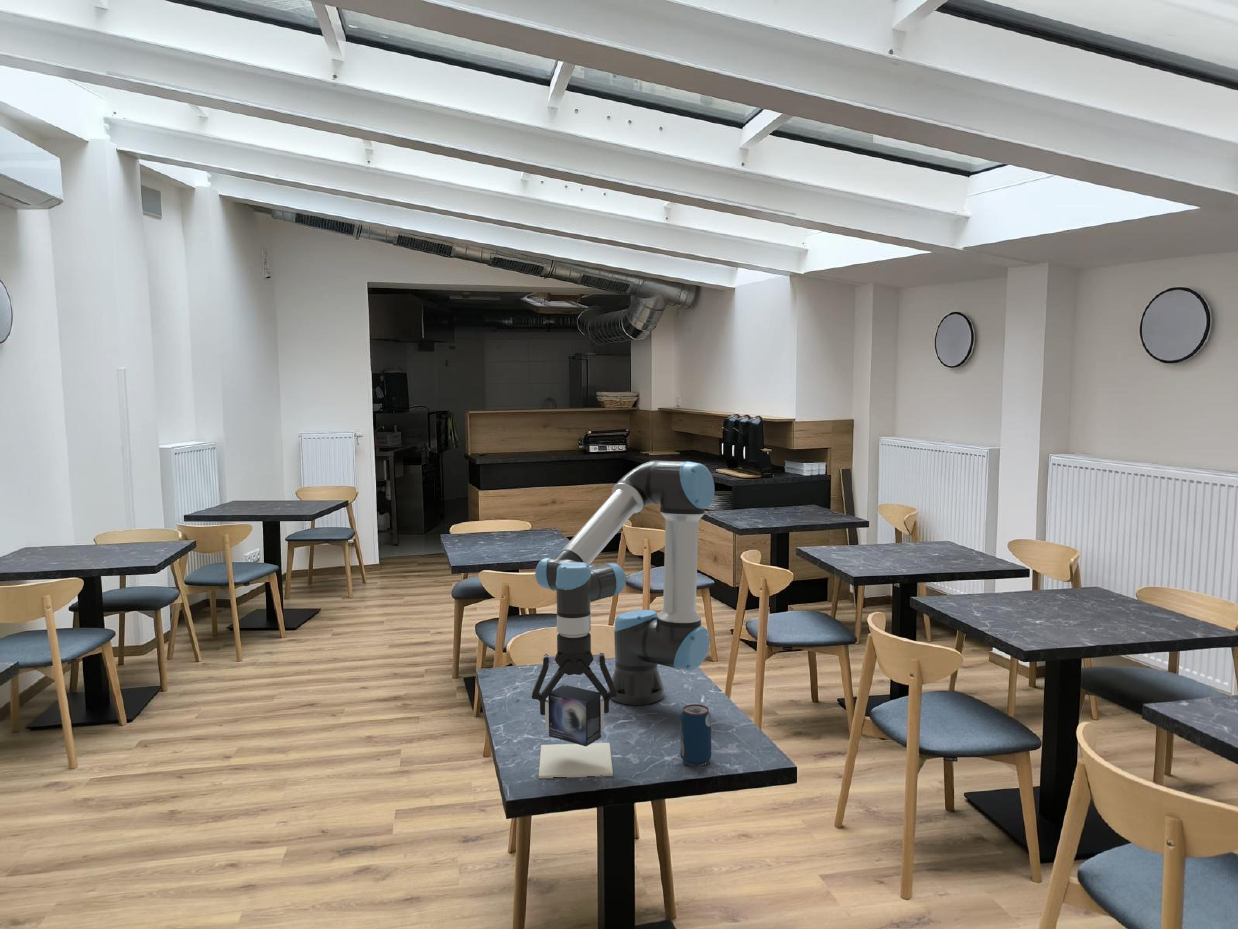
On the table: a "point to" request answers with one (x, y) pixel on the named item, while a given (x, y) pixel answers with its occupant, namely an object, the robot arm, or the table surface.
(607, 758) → the mat
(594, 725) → the small box
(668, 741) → the table surface
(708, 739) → the soda can
